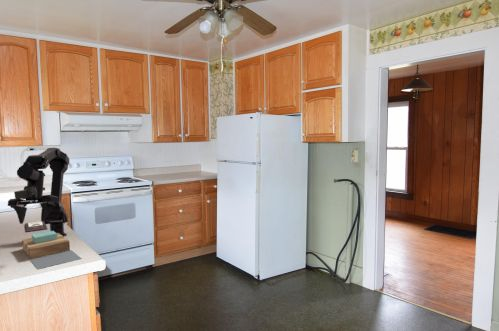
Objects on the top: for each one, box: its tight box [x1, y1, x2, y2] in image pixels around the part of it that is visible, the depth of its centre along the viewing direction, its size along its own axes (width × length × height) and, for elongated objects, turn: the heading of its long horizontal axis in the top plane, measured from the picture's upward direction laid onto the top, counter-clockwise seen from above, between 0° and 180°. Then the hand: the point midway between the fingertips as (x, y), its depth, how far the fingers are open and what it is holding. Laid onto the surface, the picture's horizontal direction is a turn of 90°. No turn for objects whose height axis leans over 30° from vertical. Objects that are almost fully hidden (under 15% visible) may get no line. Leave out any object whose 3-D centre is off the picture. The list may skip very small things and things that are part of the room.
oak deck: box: [21, 233, 71, 259], centre depth 148 cm, size 16×14×4 cm
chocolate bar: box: [24, 220, 48, 233], centre depth 184 cm, size 9×1×18 cm
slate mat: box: [29, 249, 82, 270], centre depth 137 cm, size 13×15×1 cm
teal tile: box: [31, 230, 57, 244], centre depth 148 cm, size 6×8×2 cm
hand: (31, 222), depth 141 cm, fingers open, 9 cm apart
